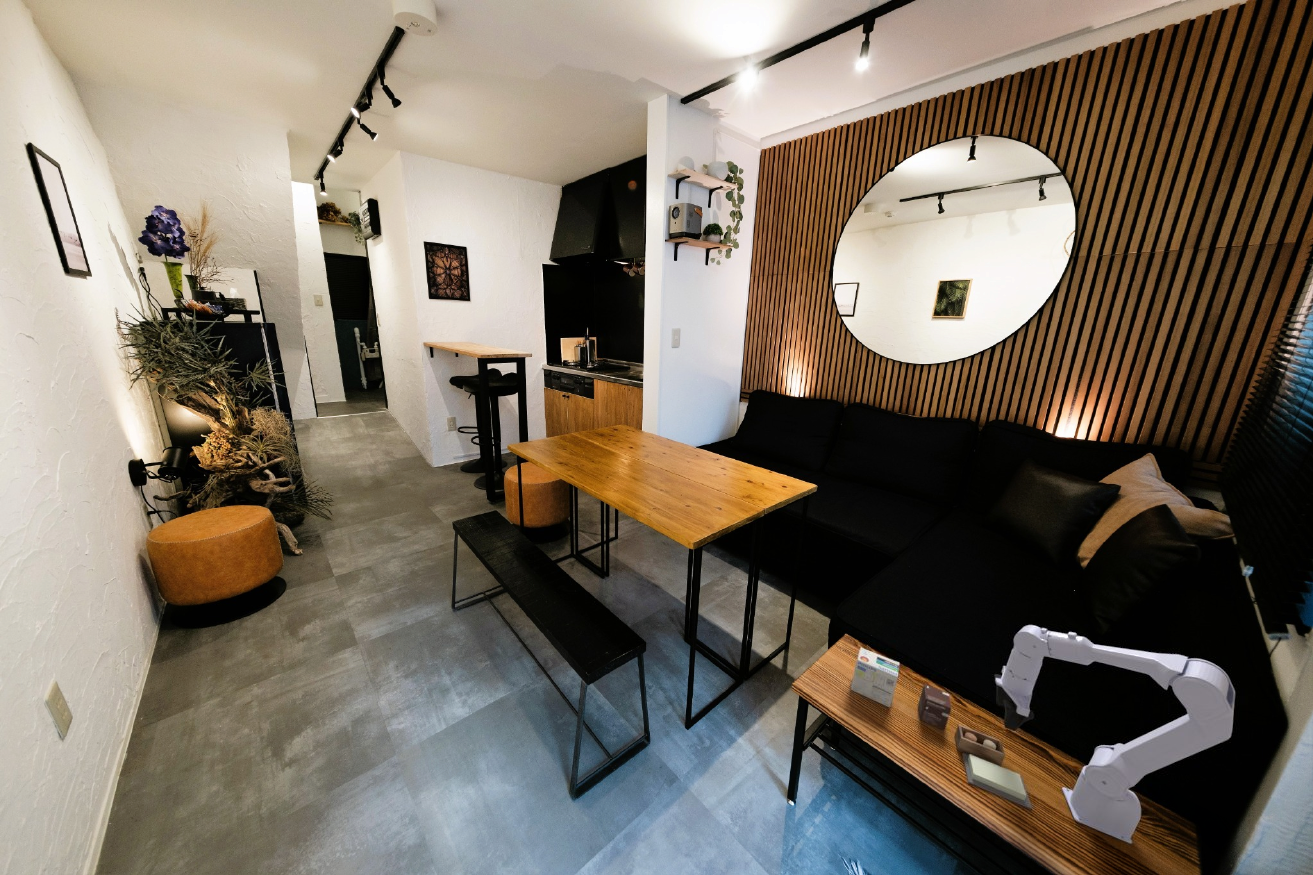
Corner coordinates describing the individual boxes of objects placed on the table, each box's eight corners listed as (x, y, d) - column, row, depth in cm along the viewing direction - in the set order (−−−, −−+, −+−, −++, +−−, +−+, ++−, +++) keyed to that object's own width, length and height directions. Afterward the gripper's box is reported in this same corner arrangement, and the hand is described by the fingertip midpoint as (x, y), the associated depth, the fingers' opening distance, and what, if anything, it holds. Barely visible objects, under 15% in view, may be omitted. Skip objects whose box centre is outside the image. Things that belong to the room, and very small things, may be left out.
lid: (1017, 779, 104) (1019, 774, 104) (1024, 800, 99) (1026, 795, 99) (967, 758, 108) (969, 753, 108) (972, 778, 103) (973, 773, 103)
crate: (996, 752, 111) (1000, 740, 110) (1000, 767, 107) (1005, 755, 106) (954, 736, 114) (958, 724, 113) (957, 750, 110) (961, 738, 109)
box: (918, 720, 118) (925, 698, 116) (917, 703, 124) (923, 682, 122) (944, 730, 116) (952, 708, 114) (942, 713, 121) (949, 692, 119)
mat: (1021, 777, 105) (1021, 776, 105) (1031, 809, 98) (1032, 808, 98) (962, 754, 110) (962, 752, 109) (968, 782, 103) (968, 781, 102)
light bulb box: (892, 692, 127) (900, 662, 124) (890, 708, 121) (899, 677, 118) (853, 675, 132) (860, 645, 129) (849, 690, 127) (856, 659, 124)
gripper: (994, 647, 114) (980, 689, 118) (1009, 686, 101) (992, 731, 105) (1027, 657, 111) (1012, 700, 115) (1047, 699, 98) (1029, 745, 102)
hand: (1005, 716), depth 110 cm, fingers open, 7 cm apart
